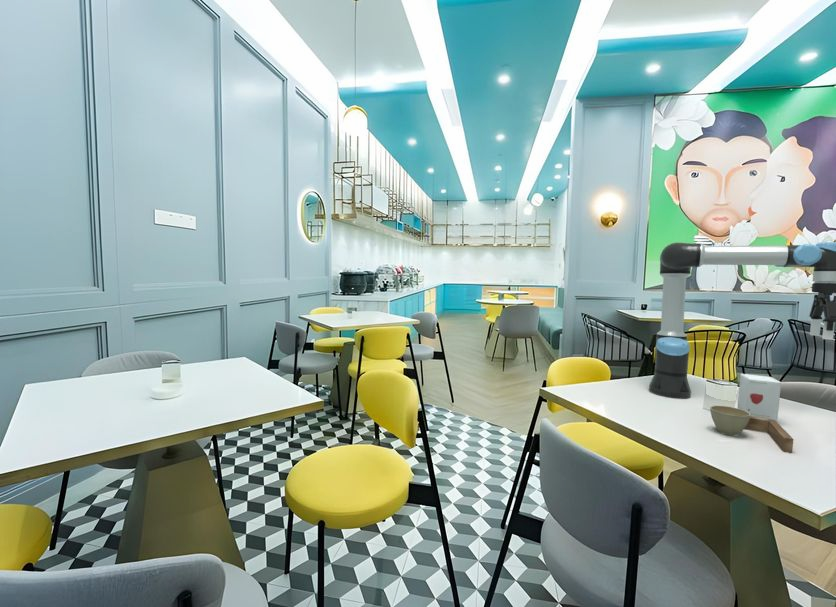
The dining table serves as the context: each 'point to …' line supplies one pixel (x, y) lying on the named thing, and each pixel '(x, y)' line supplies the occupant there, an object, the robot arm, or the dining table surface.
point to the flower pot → (729, 419)
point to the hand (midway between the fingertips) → (820, 337)
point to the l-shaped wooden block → (772, 432)
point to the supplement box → (759, 396)
